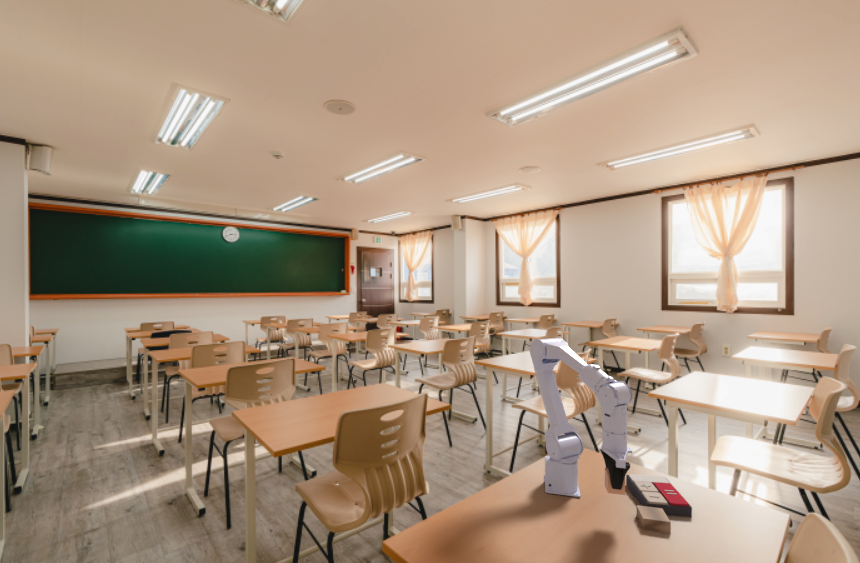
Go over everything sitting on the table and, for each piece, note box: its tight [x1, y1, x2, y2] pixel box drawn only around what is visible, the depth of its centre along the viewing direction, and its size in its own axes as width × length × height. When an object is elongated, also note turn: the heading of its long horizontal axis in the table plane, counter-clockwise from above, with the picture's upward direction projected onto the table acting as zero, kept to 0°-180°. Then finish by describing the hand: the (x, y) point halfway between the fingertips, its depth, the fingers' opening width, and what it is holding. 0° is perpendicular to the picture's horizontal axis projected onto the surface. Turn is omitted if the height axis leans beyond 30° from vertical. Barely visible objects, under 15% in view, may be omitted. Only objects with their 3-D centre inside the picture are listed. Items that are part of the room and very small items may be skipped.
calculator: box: [625, 473, 693, 518], centre depth 108 cm, size 11×4×15 cm
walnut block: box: [636, 504, 672, 534], centre depth 97 cm, size 6×6×3 cm
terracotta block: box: [604, 467, 626, 496], centre depth 99 cm, size 4×4×4 cm
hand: (614, 484), depth 99 cm, fingers closed on terracotta block, 4 cm apart
